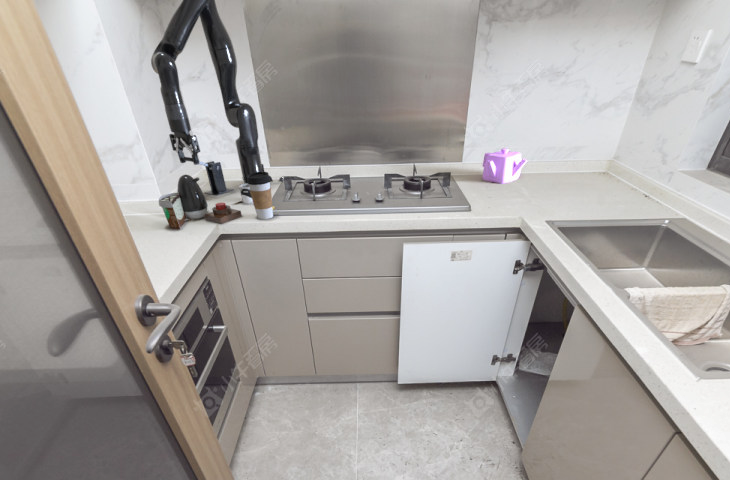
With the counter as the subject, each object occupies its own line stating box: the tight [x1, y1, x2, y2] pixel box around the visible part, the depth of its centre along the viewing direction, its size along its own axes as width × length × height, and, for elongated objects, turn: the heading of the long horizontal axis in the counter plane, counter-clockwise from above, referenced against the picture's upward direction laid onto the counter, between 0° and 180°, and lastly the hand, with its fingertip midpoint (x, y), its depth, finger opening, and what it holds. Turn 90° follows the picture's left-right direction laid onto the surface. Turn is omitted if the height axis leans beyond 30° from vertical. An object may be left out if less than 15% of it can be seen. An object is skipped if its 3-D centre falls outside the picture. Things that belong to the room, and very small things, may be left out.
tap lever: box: [184, 156, 212, 170], centre depth 177 cm, size 14×5×2 cm, turn 146°
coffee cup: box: [247, 171, 274, 220], centre depth 155 cm, size 8×8×15 cm
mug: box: [238, 183, 254, 206], centre depth 174 cm, size 10×7×7 cm, turn 87°
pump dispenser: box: [176, 174, 209, 220], centre depth 158 cm, size 10×10×15 cm
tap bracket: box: [204, 160, 235, 197], centre depth 184 cm, size 10×8×13 cm
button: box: [214, 202, 227, 209], centre depth 157 cm, size 4×4×2 cm
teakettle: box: [482, 147, 528, 184], centre depth 187 cm, size 17×17×12 cm
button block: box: [204, 204, 243, 225], centre depth 159 cm, size 10×9×4 cm
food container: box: [158, 192, 188, 230], centre depth 153 cm, size 12×6×10 cm, turn 4°
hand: (190, 163), depth 172 cm, fingers open, 8 cm apart
